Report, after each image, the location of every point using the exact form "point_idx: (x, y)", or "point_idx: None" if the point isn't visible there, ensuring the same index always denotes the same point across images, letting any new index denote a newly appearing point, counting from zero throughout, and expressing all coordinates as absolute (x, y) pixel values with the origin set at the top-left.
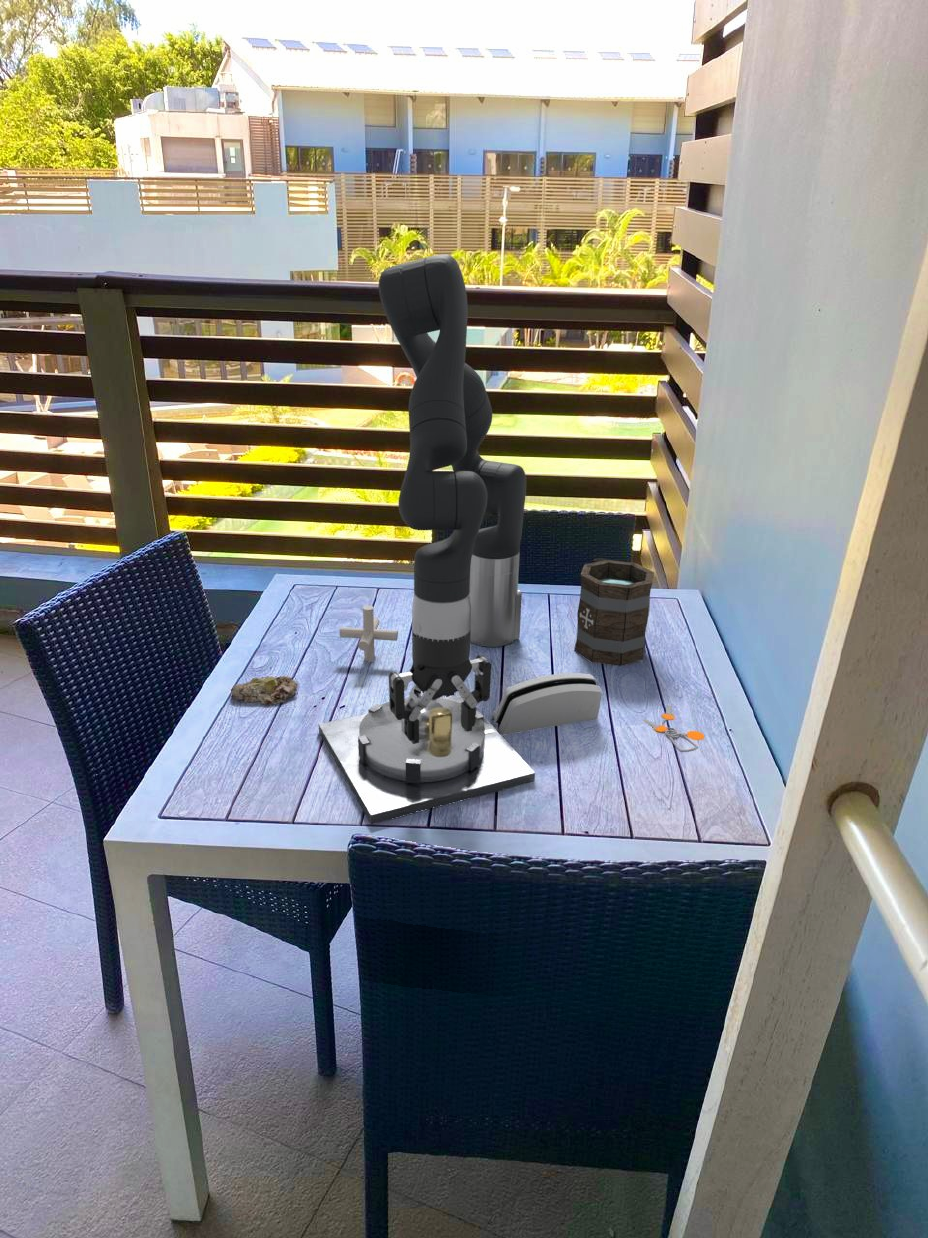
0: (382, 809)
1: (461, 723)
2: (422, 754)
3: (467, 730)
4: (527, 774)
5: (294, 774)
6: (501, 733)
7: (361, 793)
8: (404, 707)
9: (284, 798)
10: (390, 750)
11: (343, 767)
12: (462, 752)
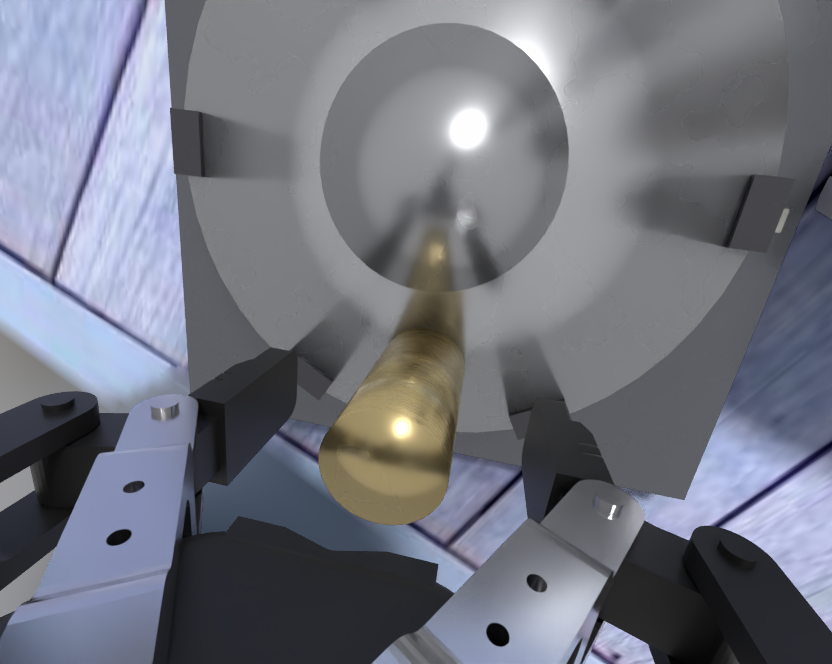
0: None
1: (536, 404)
2: (354, 351)
3: (522, 464)
4: (656, 493)
5: (70, 66)
6: (821, 206)
7: (191, 309)
8: (44, 555)
9: (38, 174)
10: (261, 266)
11: None
12: (489, 417)
